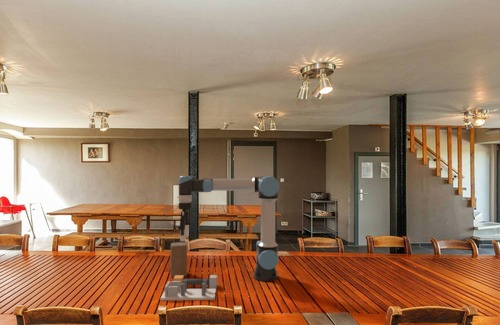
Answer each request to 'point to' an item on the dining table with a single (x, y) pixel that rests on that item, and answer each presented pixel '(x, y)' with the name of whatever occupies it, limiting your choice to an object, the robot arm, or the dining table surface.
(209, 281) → the rod with end blocks
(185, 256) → the wooden block
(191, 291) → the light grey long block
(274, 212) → the robot arm
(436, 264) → the dining table surface
